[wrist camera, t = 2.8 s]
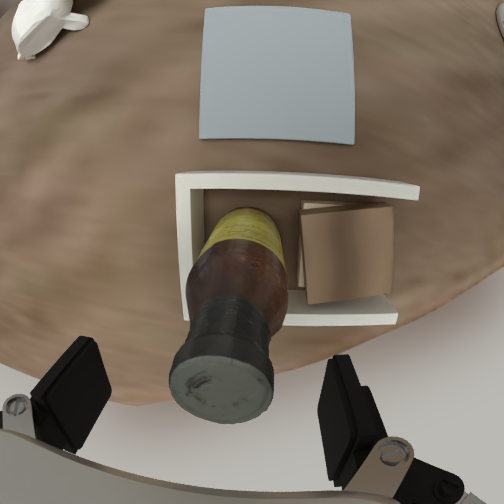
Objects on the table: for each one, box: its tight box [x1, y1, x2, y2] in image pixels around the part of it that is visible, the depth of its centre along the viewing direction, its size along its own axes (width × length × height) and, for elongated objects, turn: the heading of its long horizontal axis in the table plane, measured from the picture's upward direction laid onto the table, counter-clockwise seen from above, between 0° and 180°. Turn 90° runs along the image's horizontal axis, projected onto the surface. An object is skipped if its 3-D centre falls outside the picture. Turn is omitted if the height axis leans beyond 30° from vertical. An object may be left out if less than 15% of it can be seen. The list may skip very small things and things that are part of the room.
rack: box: [175, 170, 420, 326], centre depth 26 cm, size 20×13×5 cm, turn 89°
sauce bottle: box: [169, 207, 288, 424], centre depth 19 cm, size 7×6×20 cm
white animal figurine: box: [12, 0, 89, 60], centre depth 17 cm, size 9×8×15 cm
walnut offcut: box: [298, 202, 394, 304], centre depth 25 cm, size 8×8×2 cm
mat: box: [199, 6, 355, 145], centre depth 23 cm, size 14×14×1 cm
